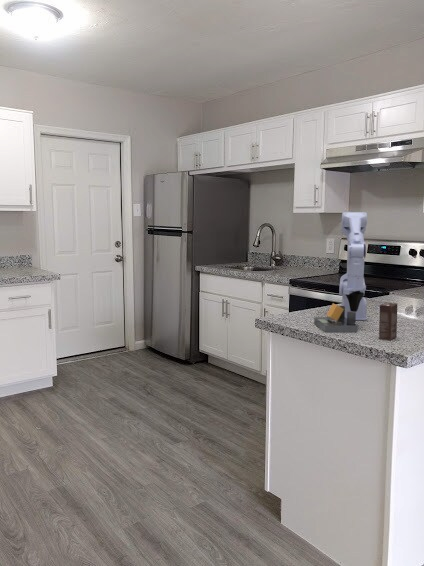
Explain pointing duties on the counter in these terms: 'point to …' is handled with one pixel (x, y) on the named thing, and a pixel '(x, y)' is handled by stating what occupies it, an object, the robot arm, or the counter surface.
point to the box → (388, 321)
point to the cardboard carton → (334, 312)
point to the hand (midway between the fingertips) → (353, 311)
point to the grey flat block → (334, 325)
